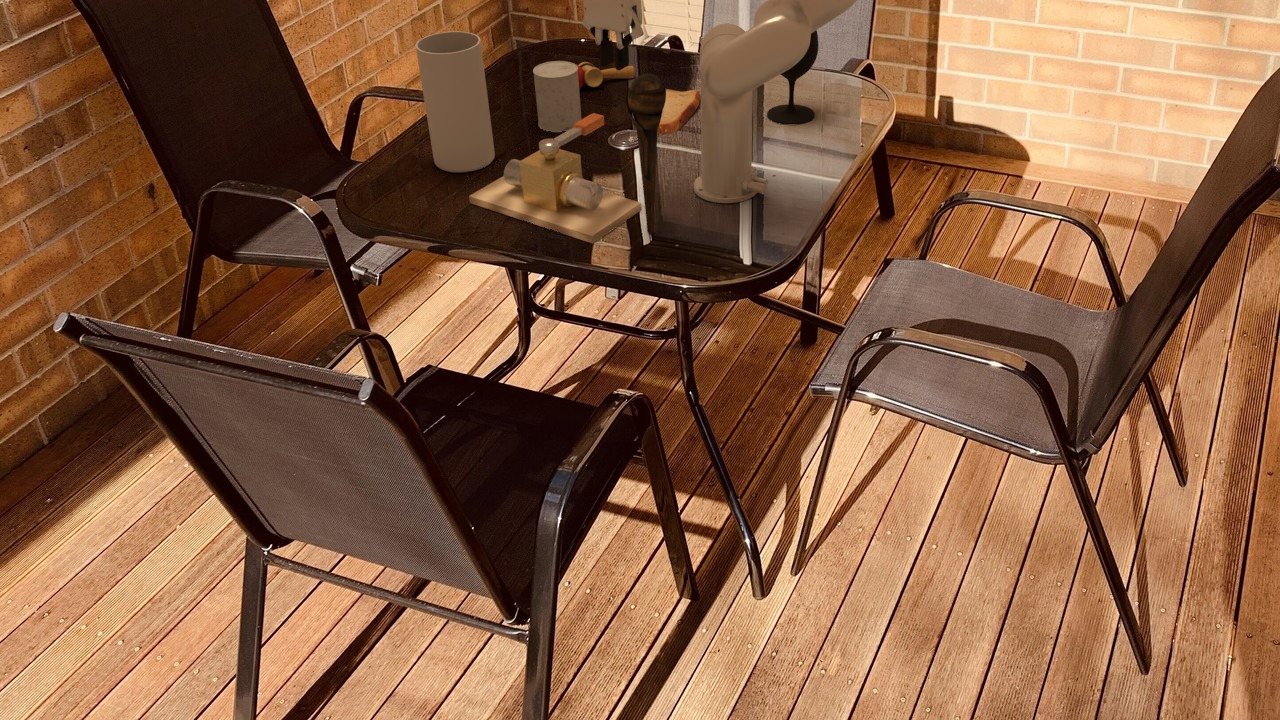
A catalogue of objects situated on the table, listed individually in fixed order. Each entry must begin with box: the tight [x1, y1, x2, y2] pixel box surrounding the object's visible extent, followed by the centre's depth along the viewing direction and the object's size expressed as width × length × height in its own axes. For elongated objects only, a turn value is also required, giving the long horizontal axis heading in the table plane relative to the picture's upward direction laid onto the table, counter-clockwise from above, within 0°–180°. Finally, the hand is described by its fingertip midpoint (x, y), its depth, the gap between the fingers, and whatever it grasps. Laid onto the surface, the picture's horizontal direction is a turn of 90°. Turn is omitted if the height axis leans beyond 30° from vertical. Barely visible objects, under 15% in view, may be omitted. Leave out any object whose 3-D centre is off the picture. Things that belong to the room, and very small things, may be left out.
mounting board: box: [468, 175, 642, 244], centre depth 216 cm, size 30×15×2 cm, turn 54°
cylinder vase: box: [415, 30, 496, 174], centre depth 227 cm, size 12×12×25 cm
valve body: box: [503, 148, 604, 213], centre depth 213 cm, size 20×8×10 cm, turn 54°
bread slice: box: [657, 88, 701, 135], centre depth 249 cm, size 18×18×4 cm
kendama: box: [576, 61, 636, 90], centre depth 265 cm, size 8×6×18 cm
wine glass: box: [766, 29, 819, 125], centre depth 241 cm, size 10×10×20 cm
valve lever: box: [538, 112, 605, 156], centre depth 213 cm, size 17×4×2 cm, turn 144°
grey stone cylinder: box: [532, 60, 583, 133], centre depth 245 cm, size 10×10×12 cm
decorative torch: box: [625, 72, 667, 235], centre depth 197 cm, size 7×7×30 cm
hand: (614, 65), depth 206 cm, fingers open, 2 cm apart
